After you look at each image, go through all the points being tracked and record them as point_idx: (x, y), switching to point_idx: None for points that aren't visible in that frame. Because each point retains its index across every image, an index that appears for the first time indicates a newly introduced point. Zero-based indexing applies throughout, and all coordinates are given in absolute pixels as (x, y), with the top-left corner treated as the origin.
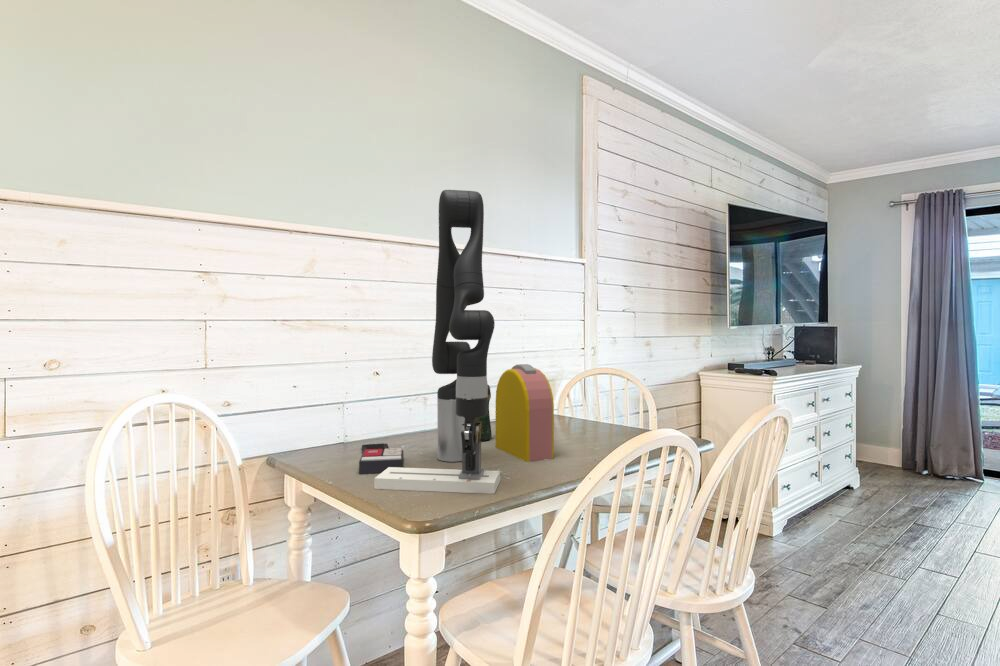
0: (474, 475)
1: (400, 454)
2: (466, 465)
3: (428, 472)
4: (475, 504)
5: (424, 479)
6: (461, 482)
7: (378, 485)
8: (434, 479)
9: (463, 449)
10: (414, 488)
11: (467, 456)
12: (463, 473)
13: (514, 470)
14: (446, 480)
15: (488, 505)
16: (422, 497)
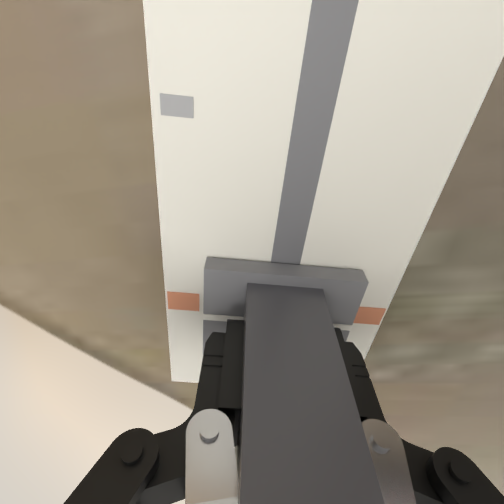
0: (209, 335)
1: None
2: (224, 343)
3: (389, 9)
4: (42, 299)
5: (162, 12)
6: (164, 269)
7: None
8: (169, 108)
9: (88, 480)
10: None
11: (193, 410)
12: (244, 289)
13: (478, 388)
14: (167, 194)
15: (51, 333)
16: (36, 35)
